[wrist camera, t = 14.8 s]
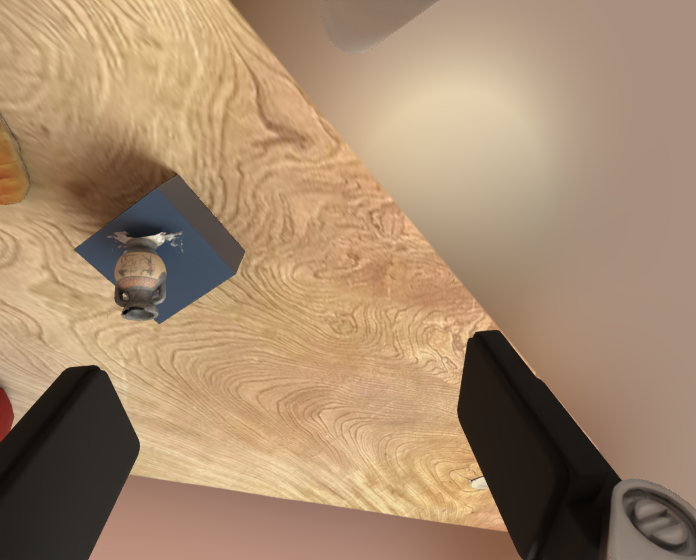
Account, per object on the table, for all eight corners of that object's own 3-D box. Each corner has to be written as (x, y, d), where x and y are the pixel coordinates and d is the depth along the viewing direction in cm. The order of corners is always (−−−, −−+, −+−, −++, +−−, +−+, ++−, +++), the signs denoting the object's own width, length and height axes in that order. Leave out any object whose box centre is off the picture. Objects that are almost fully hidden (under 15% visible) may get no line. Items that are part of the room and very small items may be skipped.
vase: (195, 289, 31) (172, 329, 26) (130, 289, 31) (92, 330, 25) (186, 231, 29) (158, 262, 23) (115, 229, 28) (69, 261, 23)
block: (105, 228, 33) (73, 249, 29) (178, 174, 31) (156, 187, 27) (177, 296, 37) (159, 324, 33) (245, 251, 35) (235, 274, 31)
